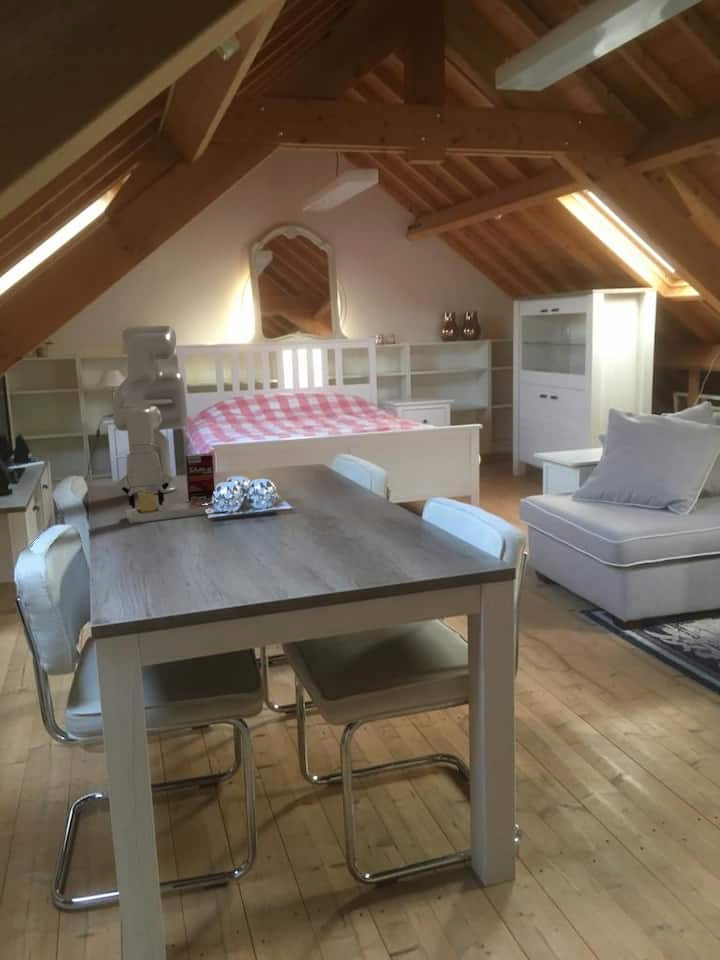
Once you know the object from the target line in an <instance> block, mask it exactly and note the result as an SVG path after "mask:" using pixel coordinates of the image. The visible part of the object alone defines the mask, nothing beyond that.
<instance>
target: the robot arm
mask: <svg viewBox="0 0 720 960" xmlns="http://www.w3.org/2000/svg"><path fill="white" fill-rule="evenodd" d="M121 339H122V341H123V345H124V346H125V348H126V350H127V351H126V352H127V361H126V362H127V369H126V370H127V377H126V378H125V379H124V380H123V381H122V382H121V383H120V385H119V386H118V387H117V389H116V390H115V392H114V395H113V400H112V418H113V419H112V420H113V425H114V427H115V428H116V429H117V430H118V431H122V432H125V431H127V437H128V438H127V439H128V448H129V451H128V452H129V454H126V463H125V464H126V468H125V469H126V471H125V472H126V474H125V475H124V476H123V477H122V478H121V479H120V480H118V481H117V482H116V485H117V486H118V487H119V488H120V489H121V490H122V491H123V492H124V493H125V494H127V495H128V502H129V503H128V504H129V506H131V509H136V501H135V495H134V492H135V489H136V488H141V489H140V492H146V491H153V492H154V495H156V494H157V501H158V504H159V506H162V505H163V502H165V498H164V497H165V496H164V494H166V493H172V492H174V491H177V489H178V487H177V486H178V485H176V484H173V477H172V466H171V454H170V453H171V452H170V444H169V443H170V442H169V440H168V438H167V436H166V435H165V434H164V433H163V432H162V431H163V430H173V429H182V428H185V427H186V425H187V423H188V409H187V400H186V389H185V382H184V381H185V380H184V378H183V376H182V375H181V373H179V372H177V371H162V370H161V369H162V368H161V360H171V359H172V358H173V357H174V354H175V351H176V350H175V349H176V344H177V335H176V332H175V329H174V328H173V327H172V326H170V325H142V326H141V325H139V326H137V325H136V326H131V327H126V328H124V329H123V330H122V332H121ZM136 392H138V396H139V397H140V398H141V399H142V400H146V401H159V400H160V401H161V400H171V401H170V402H146V403H142V404H141V405H126V406H124V402H126V399H127V398H128V397H130V396H132V395H133V394H134V393H136ZM161 430H162V431H161ZM125 482H126V483H127V485H128V486H129V487H128V488H127V487H126V486H125V485H124V484H125Z"/></svg>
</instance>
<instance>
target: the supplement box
mask: <svg viewBox="0 0 720 960" xmlns="http://www.w3.org/2000/svg"><path fill="white" fill-rule="evenodd" d="M213 456H214V455H213V454H212V453H211V452H208V453H195V454H185V465H186V466H185V469H186V485H187V486H186V487H187V498H188V502H191V501H200V500H209V499H211V498H212V495H213V491H214V490H215V491H216V489H215V488H216V487H215V477H214V475H215V474H214V457H213Z"/></svg>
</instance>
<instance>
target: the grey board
mask: <svg viewBox="0 0 720 960" xmlns="http://www.w3.org/2000/svg"><path fill="white" fill-rule="evenodd" d="M211 501H212V499H209V500H200V501H191V502H189V501H188V502H181V503H180V502H179V503H170V504H162V505H155V507H156V511H154V512H146V513H139V507H137V508H136V507H135V508H130V509H125V517H127V518H126V520H127V521H128V523H129V524H130V523H131V524H137V523H138V522H139V523H144V522H145V523H147V522H154V521H155V522H156V521H162V520H171V519H179V518H186V517H187V518H188V517H193V516H194V517H196V516H203V515H207V514H206V512H205V510H206V509H208V508H211V507H213V506H214V505H213V504H208V505H202V504H205V503H210V502H211ZM139 523H138V524H139Z"/></svg>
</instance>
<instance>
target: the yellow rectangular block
mask: <svg viewBox="0 0 720 960" xmlns="http://www.w3.org/2000/svg"><path fill="white" fill-rule="evenodd" d="M155 495H156V494H154V492H153V491H146V492H141V491H140V492H139V491H138V492H137V500H138V508H139V513H146V512H154V511H156V507H155V506H156V497H155Z"/></svg>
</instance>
